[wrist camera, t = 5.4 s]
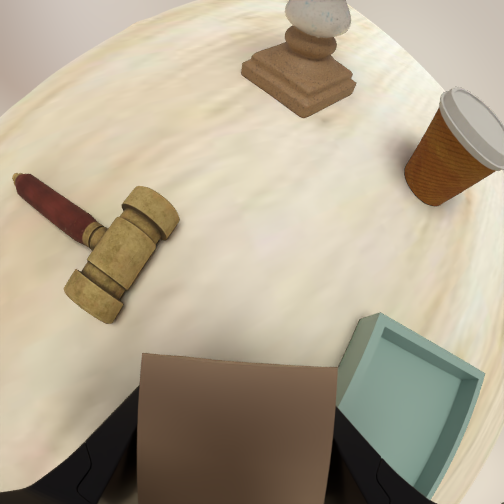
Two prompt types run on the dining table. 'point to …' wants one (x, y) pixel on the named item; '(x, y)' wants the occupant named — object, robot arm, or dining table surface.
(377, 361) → the box
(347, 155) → the dining table surface
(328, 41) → the candle holder
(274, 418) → the walnut block
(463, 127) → the disposable coffee cup
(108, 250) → the gavel
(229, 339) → the dining table surface
